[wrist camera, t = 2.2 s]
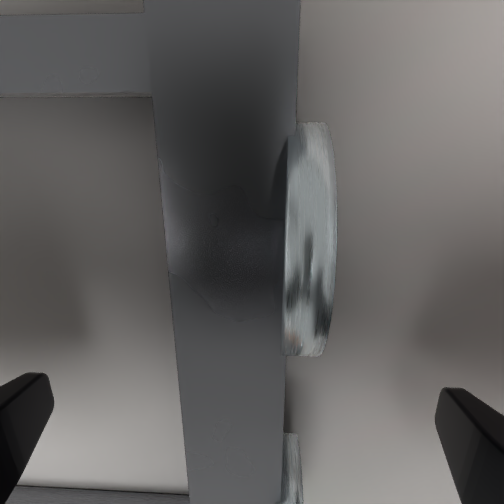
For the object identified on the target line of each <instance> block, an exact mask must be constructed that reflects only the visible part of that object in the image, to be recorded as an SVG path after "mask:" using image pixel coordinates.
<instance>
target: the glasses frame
mask: <svg viewBox="0 0 504 504" xmlns="http://www.w3.org/2000/svg"><path fill="white" fill-rule="evenodd" d="M300 1H301V0H143V5H144V13H106V14H47V15H0V98H25V97H152V101H153V112H154V123H155V134H156V144H157V155H158V166H159V176H160V187H161V198H162V209H163V219H164V230H165V241H166V252H167V262H168V273H169V284H170V294H171V305H172V316H173V327H174V337H175V348H176V359H177V369H178V380H179V391H180V402H181V412H182V423H183V434H184V445H185V455H186V466H187V477H188V487H189V495H172V494H154V493H136V492H117V491H99V490H80V489H62V488H44V487H25V486H15V488H14V490H13V491H12V493H11V495H10V496H9V498H8V500H7V501H6V503H5V504H303V485H302V470H301V458H300V449H299V442H298V437H297V434H295V433H283V425H284V400H285V375H286V355H287V356H317V357H319V356H320V355H321V354H322V353H323V350H324V348H325V345H326V341H327V337H328V333H329V327H330V321H331V314H332V307H333V297H334V287H335V273H336V254H337V188H336V171H335V160H334V152H333V144H332V139H331V135H330V131H329V128H328V126H327V124H325V123H296V101H297V76H298V51H299V26H300Z"/></svg>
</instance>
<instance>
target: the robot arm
mask: <svg viewBox="0 0 504 504" xmlns="http://www.w3.org/2000/svg"><path fill="white" fill-rule="evenodd" d="M53 408H54V397H53V393H52V389H51V385H50V381H49V378H48V376H47V375H46V374H45V373H35V372H29V373H25V374H23V375H21V376H19V377H17V378H16V379H14V380H12V381H10V382H8V383H6V384H4V385H2V386H0V504H5V503H6V501H7V500H8V498H9V496H10V495H11V493H12V491H13V490H14V488H15V486H16V484H17V482H18V481H19V479H20V477H21V475H22V473H23V471H24V469H25V467H26V465H27V463H28V461H29V459H30V457H31V455H32V453H33V451H34V449H35V447H36V445H37V443H38V440H39V438H40V436H41V434H42V432H43V430H44V428H45V426H46V424H47V422H48V420H49V418H50V415H51V413H52V411H53ZM435 425H436V429H437V432H438V435H439V438H440V441H441V444H442V447H443V450H444V453H445V456H446V459H447V462H448V465H449V468H450V471H451V474H452V477H453V480H454V483H455V486H456V489H457V492H458V494H459V497H460V500H461V503H462V504H504V416H503V415H502V414H500V413H499V412H497V411H496V410H494V409H493V408H491V407H490V406H488V405H487V404H485V403H484V402H483V401H481V400H480V399H478V398H477V397H475V396H474V395H472V394H471V393H469V392H468V391H466V390H465V389H462V388H449V387H446V388H443V389H442V390H441V392H440V396H439V400H438V404H437V409H436V413H435Z"/></svg>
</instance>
